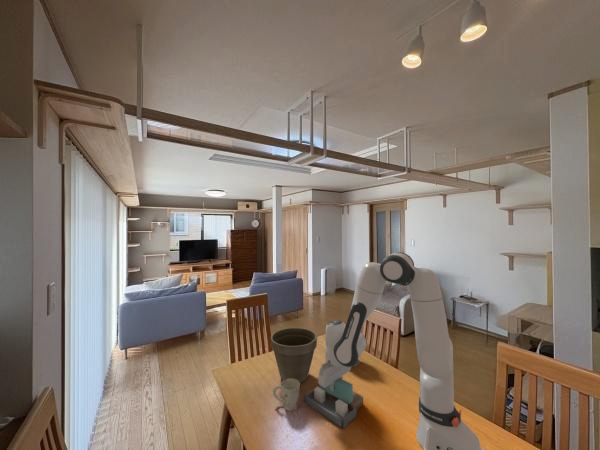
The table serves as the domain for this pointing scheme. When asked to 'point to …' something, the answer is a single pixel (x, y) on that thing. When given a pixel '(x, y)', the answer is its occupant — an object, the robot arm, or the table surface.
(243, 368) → the table surface
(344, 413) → the tile
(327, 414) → the tray
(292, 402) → the mug
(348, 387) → the teal rectangular block
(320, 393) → the tile
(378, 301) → the robot arm
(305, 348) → the plant pot
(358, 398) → the board
